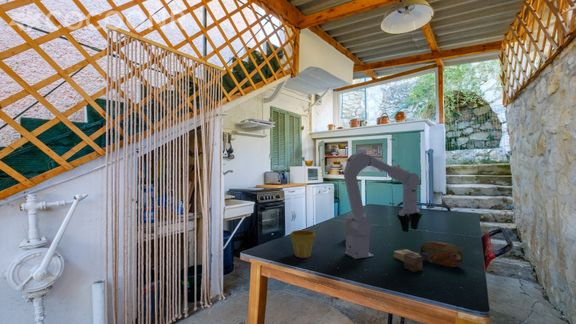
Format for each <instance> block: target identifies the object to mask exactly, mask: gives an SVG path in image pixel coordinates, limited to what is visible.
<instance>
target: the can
mask: <svg viewBox="0 0 576 324" xmlns="http://www.w3.org/2000/svg"><path fill="white" fill-rule="evenodd" d="M344 223H345V225H344V226H345V228H344V229H345V234H344V238H345V240H346V238H347V236H349V235H351V234H352V231H353V229H352V228H351V225H350V223H351V216H347V217H346V219H345V222H344Z"/></svg>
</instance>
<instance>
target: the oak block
mask: <svg viewBox="0 0 576 324" xmlns="http://www.w3.org/2000/svg"><path fill="white" fill-rule="evenodd" d="M410 253H414V254H417V255H419V256H421V253H418V252H415V251H412V250H409V249H406V248H405V249H399V250H394V251H393V258H394V259H396V260H398V261H402V262H403V263H404V254H410Z"/></svg>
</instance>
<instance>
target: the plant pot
mask: <svg viewBox="0 0 576 324" xmlns="http://www.w3.org/2000/svg"><path fill="white" fill-rule="evenodd" d="M315 238H316V233H315V232H314V231H312V230H305V229H299V230H292V231H291V232H290V241H291V242H292V247H293V251H294V256H295V257H296V258H301V259H305V258H306V259H307V258H310V257H311V255H312V254H311V253H312V249H313V247H314V243H315V241H316V239H315Z"/></svg>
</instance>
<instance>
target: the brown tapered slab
mask: <svg viewBox="0 0 576 324" xmlns="http://www.w3.org/2000/svg"><path fill="white" fill-rule="evenodd" d="M419 251H420V256H422V259H424V260H425V261H426V262H428V263H430V264H435V265H440V266H445V267H449V268H450V267H451V268H457V267H459V266H461V265H462V264H463V261H464V258H465V257H464V253H463V251H462V249H461V248H459V246H457V245H455V244H452V243H446V242H440V241H431V240H429V241H425V242H424V243H422V244H421V246H420V248H419Z"/></svg>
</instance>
